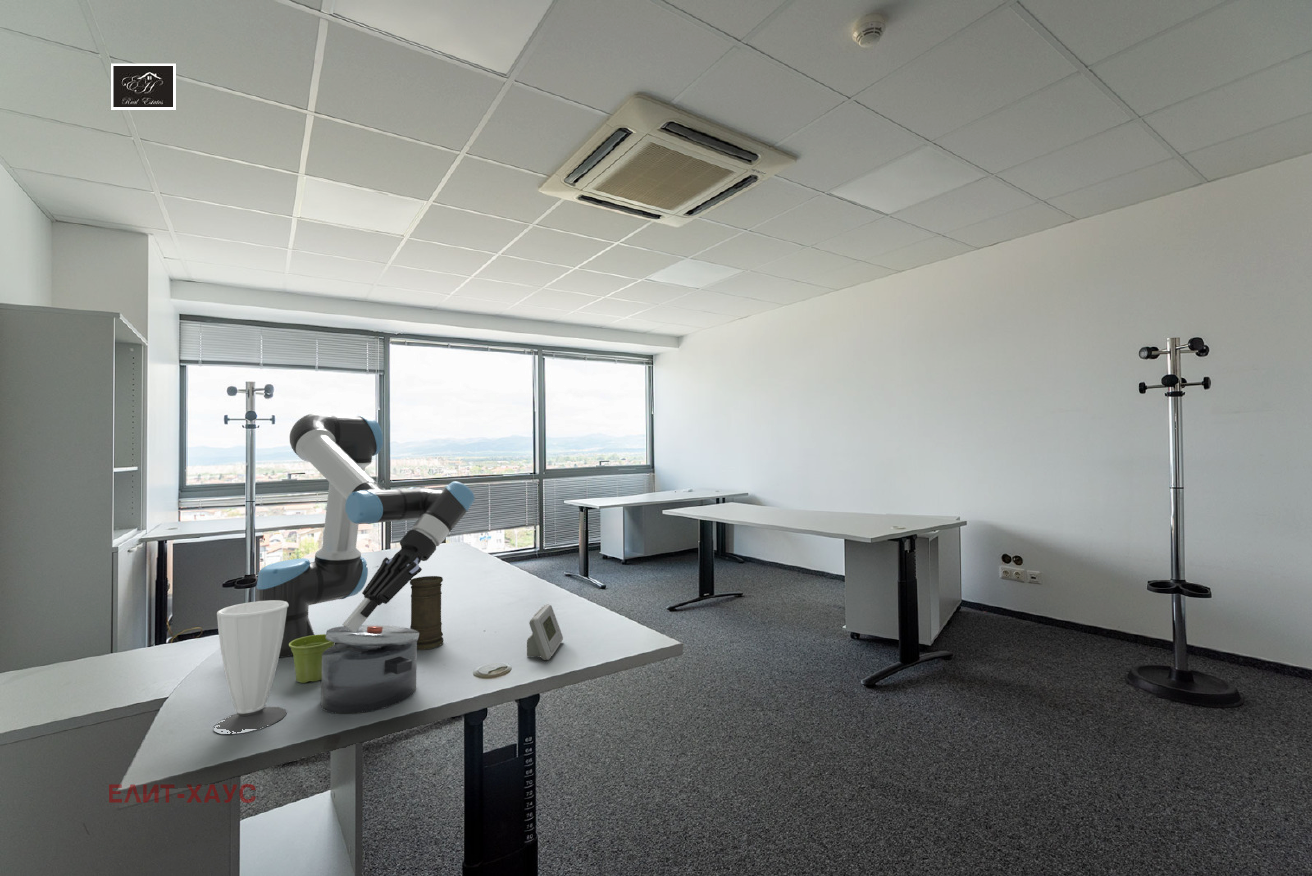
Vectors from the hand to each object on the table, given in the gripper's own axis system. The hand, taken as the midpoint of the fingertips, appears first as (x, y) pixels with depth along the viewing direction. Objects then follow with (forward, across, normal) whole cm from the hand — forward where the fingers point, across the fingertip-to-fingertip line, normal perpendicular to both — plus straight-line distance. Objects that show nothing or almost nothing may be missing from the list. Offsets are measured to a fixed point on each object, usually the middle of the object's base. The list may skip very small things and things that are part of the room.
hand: (348, 628), depth 114 cm
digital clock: (-21, -10, -43) cm, 49 cm away
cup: (+21, +8, -1) cm, 22 cm away
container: (-11, +22, -33) cm, 41 cm away
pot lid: (-1, +1, -6) cm, 6 cm away
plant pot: (+10, +22, -12) cm, 27 cm away
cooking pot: (+7, 0, -14) cm, 16 cm away
